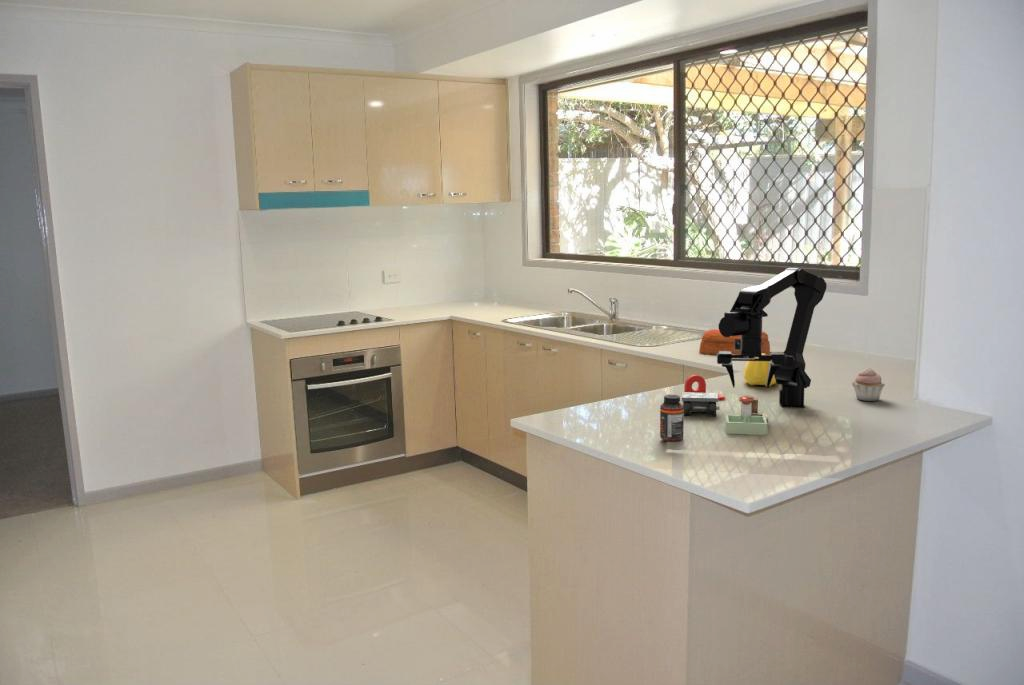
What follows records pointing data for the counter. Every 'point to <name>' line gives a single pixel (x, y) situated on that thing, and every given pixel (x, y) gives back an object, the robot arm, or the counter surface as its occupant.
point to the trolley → (700, 402)
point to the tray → (746, 425)
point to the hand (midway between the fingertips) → (750, 387)
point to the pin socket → (760, 415)
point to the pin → (746, 408)
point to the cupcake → (868, 385)
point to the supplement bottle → (671, 419)
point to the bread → (726, 343)
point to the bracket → (701, 385)
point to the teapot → (757, 373)
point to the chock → (753, 403)
